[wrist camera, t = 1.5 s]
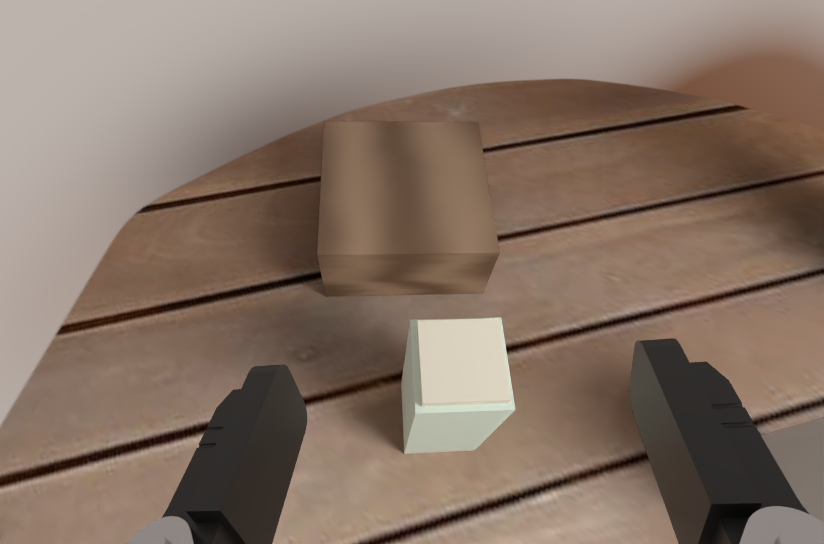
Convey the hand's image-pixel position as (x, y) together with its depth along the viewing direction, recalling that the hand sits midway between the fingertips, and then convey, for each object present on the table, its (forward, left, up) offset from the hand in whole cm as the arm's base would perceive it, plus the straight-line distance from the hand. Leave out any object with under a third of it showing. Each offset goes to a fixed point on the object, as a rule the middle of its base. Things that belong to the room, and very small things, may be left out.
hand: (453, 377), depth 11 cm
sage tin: (-4, -2, -22) cm, 23 cm away
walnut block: (-12, -15, -22) cm, 29 cm away
